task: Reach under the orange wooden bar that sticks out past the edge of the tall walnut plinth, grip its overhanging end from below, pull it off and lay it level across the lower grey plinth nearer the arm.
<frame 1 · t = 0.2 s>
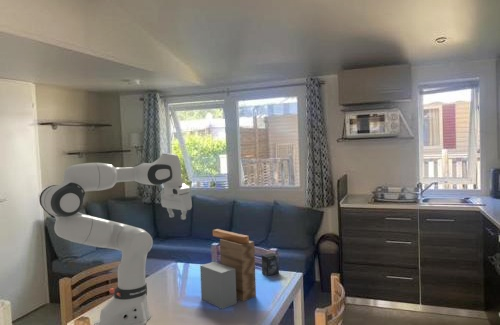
hand: (177, 218, 178), 39 cm above the table, tool pointing down, fingers open, 8 cm apart
low plinth: (218, 301, 179), on the table
tall plinth: (238, 294, 187), on the table
bar: (230, 239, 190), point 26 cm above the table, touching tall plinth
box: (270, 273, 216), on the table
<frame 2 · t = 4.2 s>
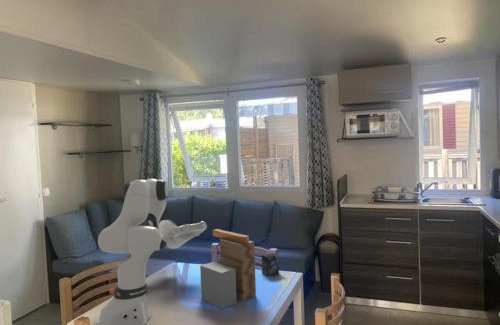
hand: (195, 223, 208), 30 cm above the table, tool pointing upward, fingers open, 8 cm apart
nothing on the table moved.
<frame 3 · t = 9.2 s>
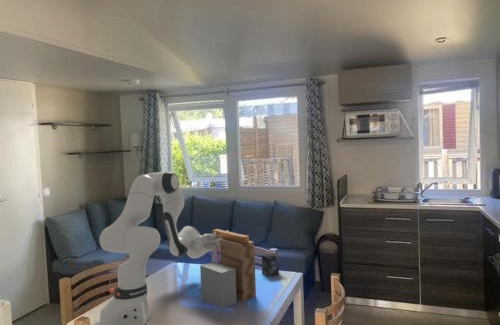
hand: (220, 232, 196), 28 cm above the table, tool pointing upward, fingers closed on bar, 3 cm apart
bar: (230, 239, 190), point 26 cm above the table, touching gripper, tall plinth
everything else where it was.
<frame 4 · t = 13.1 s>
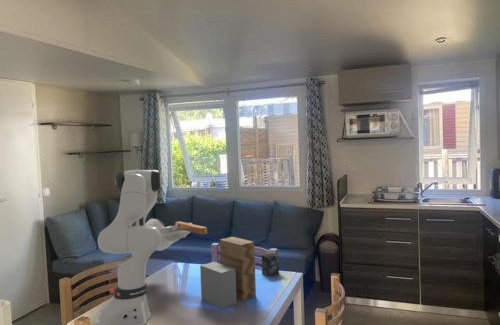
hand: (181, 224, 200), 32 cm above the table, tool pointing upward, fingers closed on bar, 3 cm apart
bar: (190, 230, 194), point 30 cm above the table, touching gripper
everything else where it was.
when the fingers open (20 cm above the table, at t = 17.3 s): bar drops 2 cm, resting on low plinth.
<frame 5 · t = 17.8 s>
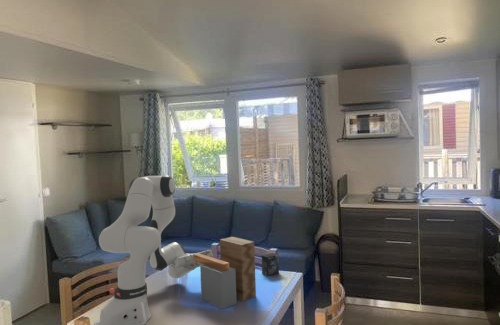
hand: (201, 253, 188), 20 cm above the table, tool pointing upward, fingers open, 8 cm apart
bar: (210, 264, 182), point 16 cm above the table, touching low plinth
everything else where it was.
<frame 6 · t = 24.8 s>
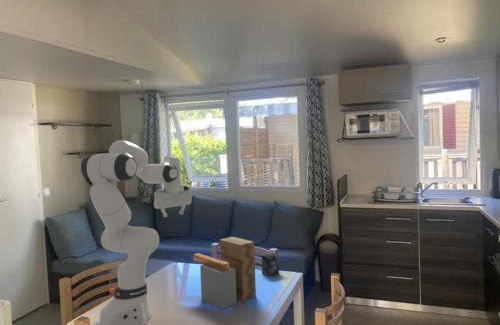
hand: (173, 215, 197), 37 cm above the table, tool pointing down, fingers open, 8 cm apart
nothing on the table moved.
at the end: bar inside the target area (0.1 cm from its centre), point 16.0 cm above the table; bar tilted 0°; the gripper is holding nothing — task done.
